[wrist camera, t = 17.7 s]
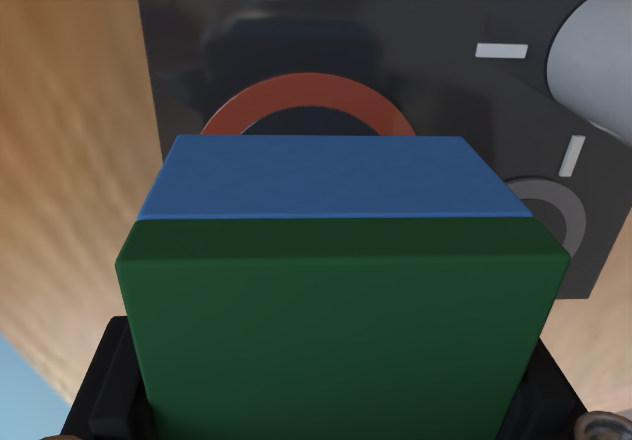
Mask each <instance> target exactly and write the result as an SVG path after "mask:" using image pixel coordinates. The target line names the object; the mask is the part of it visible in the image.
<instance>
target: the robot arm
mask: <svg viewBox="0 0 632 440" xmlns="http://www.w3.org/2000/svg"><path fill="white" fill-rule="evenodd" d="M40 440H158V436H157V432H156V428H155V424H154V420H153V416H152V412H151V408H150V404H149V402H148V398H147V394H146V390H145V386H144V382H143V378H142V374H141V370H140V366H139V362H138V358H137V354H136V350H135V346H134V342H133V338H132V334H131V330H130V325H129V321H128V317H127V316H114V317H113V318H112V319H111V320H110V321H109V323H108V325H107V327H106V329H105V332H104V334H103V336H102V339H101V341H100V343H99V345H98V348H97V350H96V352H95V355H94V357H93V359H92V362H91V364H90V366H89V368H88V371H87V373H86V375H85V378H84V380H83V382H82V385H81V387H80V389H79V391H78V394H77V396H76V398H75V401H74V403H73V405H72V408H71V410H70V412H69V415H68V417H67V419H66V421H65V424H64V426H63V429H62V431H61V433H60V435H56V436H51V437H45V438H43V439H40ZM496 440H632V421H630V420H629V419H627V418H625V417H623V416H620V415H617V414H614V413H611V412H604V411H592V412H588V411H587V409H586V408H585V406H584V405H583V403H582V402H581V400H580V398H579V397H578V395H577V394H576V392H575V391H574V389H573V388H572V386H571V385H570V383H569V382H568V380H567V379H566V377H565V376H564V374H563V373H562V371H561V370H560V368H559V366H558V365H557V363H556V362H555V360H554V359H553V357H552V356H551V354H550V353H549V351H548V350H547V348H546V347H545V345H544V344H543V342H542V341H541V339H540V337H539V339H538V341H537V344H536V346H535V349H534V351H533V353H532V356H531V358H530V361H529V363H528V365H527V368H526V370H525V373H524V375H523V377H522V380H521V382H520V385H519V387H518V389H517V391H516V393H515V396H514V398H513V400H512V403H511V405H510V408H509V410H508V412H507V415H506V417H505V420H504V422H503V424H502V427H501V429H500V432H499V434H498V437H497V439H496Z"/></svg>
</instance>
